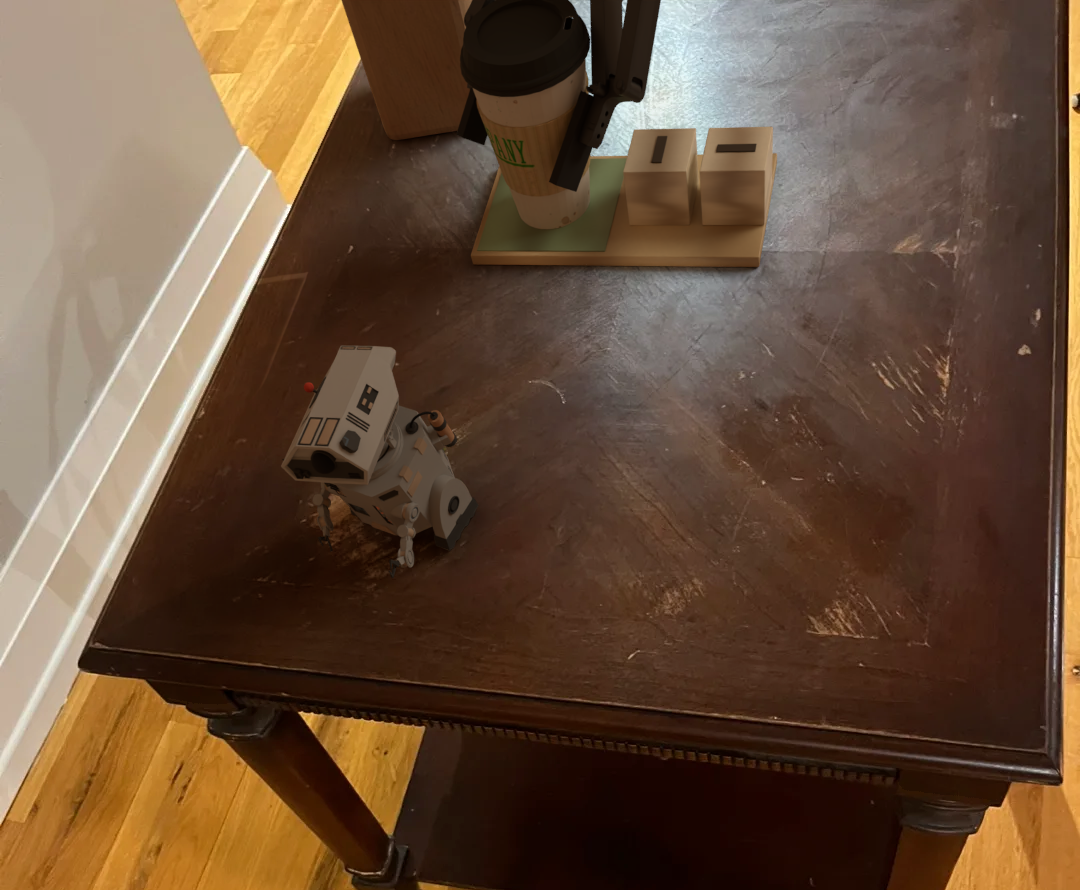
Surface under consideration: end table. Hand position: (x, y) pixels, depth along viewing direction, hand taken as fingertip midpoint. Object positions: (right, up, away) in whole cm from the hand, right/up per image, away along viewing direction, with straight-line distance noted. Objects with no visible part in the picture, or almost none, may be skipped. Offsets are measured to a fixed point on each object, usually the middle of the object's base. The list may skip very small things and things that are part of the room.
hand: (515, 162), depth 87 cm
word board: (+9, -2, +5) cm, 11 cm away
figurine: (-8, -31, -5) cm, 32 cm away
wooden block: (-7, +14, +16) cm, 23 cm away
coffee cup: (+3, -1, +6) cm, 7 cm away
